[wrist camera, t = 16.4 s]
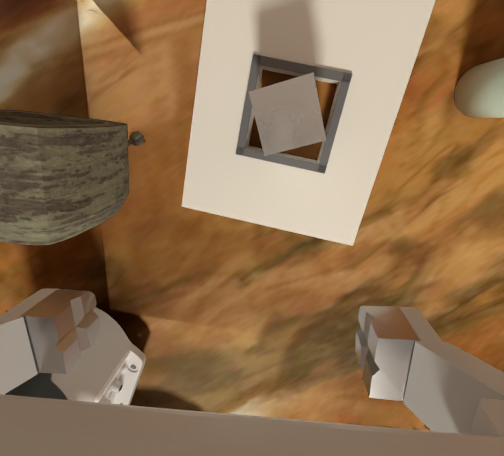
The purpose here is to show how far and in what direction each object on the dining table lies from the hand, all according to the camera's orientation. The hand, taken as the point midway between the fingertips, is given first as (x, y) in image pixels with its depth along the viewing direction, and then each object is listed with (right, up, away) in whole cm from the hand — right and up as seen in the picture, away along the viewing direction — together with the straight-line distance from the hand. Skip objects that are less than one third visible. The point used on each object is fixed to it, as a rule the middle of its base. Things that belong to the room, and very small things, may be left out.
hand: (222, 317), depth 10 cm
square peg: (+5, +15, +25) cm, 30 cm away
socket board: (+5, +15, +25) cm, 30 cm away
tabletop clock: (-18, +12, +30) cm, 37 cm away
